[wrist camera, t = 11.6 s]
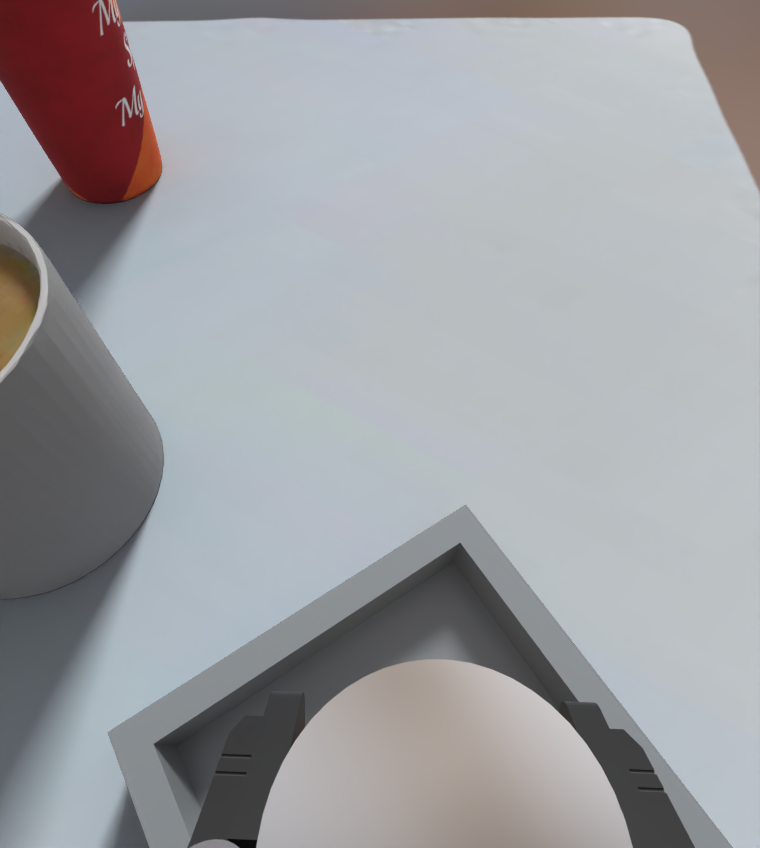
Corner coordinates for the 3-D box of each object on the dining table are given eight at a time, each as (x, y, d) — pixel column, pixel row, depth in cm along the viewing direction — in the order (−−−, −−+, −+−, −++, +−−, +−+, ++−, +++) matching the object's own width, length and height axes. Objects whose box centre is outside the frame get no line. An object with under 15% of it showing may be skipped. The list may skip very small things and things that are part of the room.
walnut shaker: (385, 975, 16) (392, 1288, 6) (290, 780, 18) (190, 797, 9) (537, 842, 17) (726, 935, 8) (431, 678, 20) (478, 594, 10)
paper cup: (204, 180, 34) (108, -141, 22) (79, 236, 32) (-106, -91, 20) (144, 117, 37) (32, -194, 25) (27, 164, 35) (-160, -156, 23)
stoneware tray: (346, 1256, 14) (338, 1367, 11) (144, 737, 19) (107, 732, 17) (716, 881, 17) (774, 901, 15) (456, 534, 23) (465, 504, 20)
